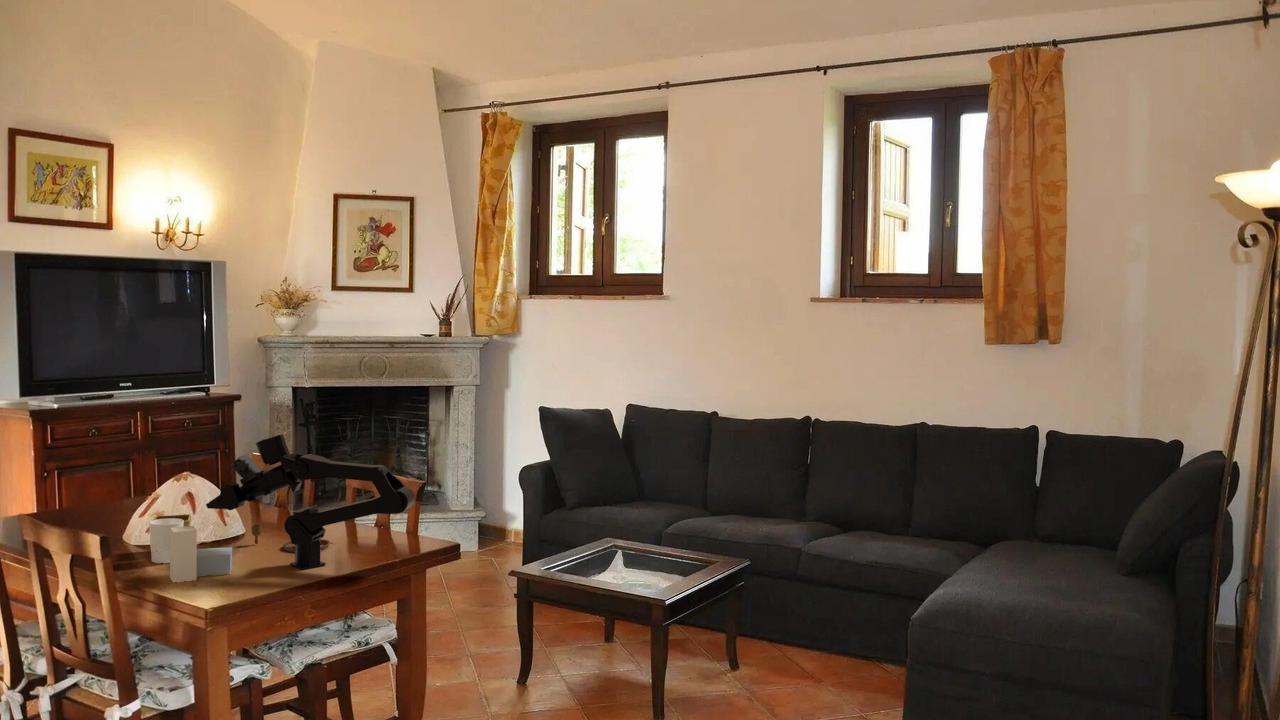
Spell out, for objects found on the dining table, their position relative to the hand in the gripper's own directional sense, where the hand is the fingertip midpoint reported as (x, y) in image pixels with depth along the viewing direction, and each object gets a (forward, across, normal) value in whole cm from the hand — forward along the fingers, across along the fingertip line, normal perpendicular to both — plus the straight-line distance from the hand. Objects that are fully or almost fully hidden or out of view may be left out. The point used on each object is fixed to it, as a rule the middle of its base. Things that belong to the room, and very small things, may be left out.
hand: (215, 502), depth 249 cm
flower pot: (+21, -8, +8) cm, 24 cm away
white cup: (+18, 0, +9) cm, 20 cm away
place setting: (-5, -20, +20) cm, 29 cm away
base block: (+2, +9, +16) cm, 18 cm away
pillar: (+6, +17, +14) cm, 22 cm away
